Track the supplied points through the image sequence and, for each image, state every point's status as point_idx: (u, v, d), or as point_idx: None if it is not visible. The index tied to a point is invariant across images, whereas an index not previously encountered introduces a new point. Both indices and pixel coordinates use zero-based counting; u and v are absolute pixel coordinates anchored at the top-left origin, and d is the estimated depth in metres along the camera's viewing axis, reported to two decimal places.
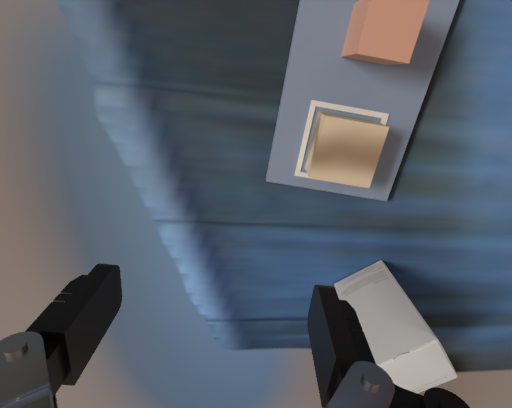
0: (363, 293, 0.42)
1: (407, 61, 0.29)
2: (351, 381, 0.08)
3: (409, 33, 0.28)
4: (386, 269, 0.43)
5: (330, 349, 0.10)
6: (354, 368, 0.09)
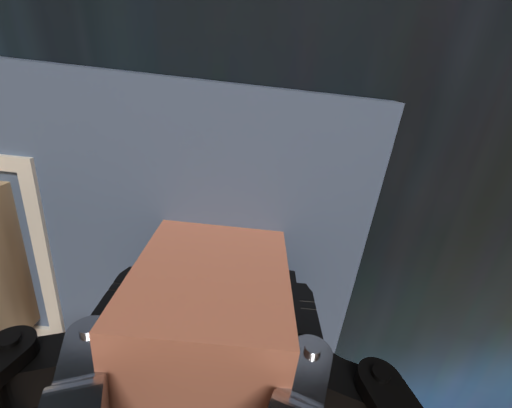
0: None
1: None
2: None
3: None
4: None
5: None
6: None
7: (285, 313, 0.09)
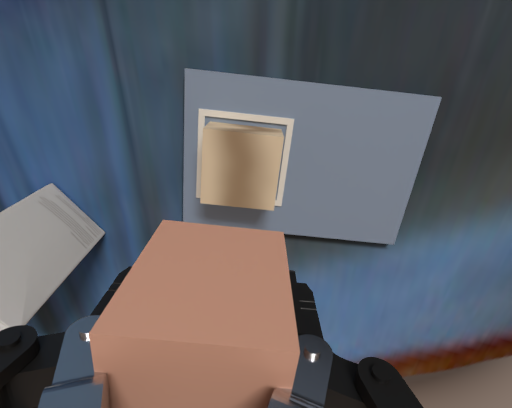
0: (50, 223, 0.31)
1: None
2: None
3: None
4: (95, 241, 0.34)
5: None
6: None
7: (285, 313, 0.09)
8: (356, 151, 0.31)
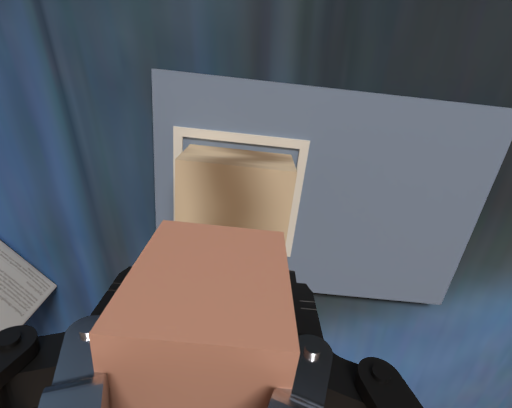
0: None
1: None
2: None
3: None
4: (38, 302, 0.26)
5: None
6: None
7: (285, 314, 0.09)
8: (396, 184, 0.22)
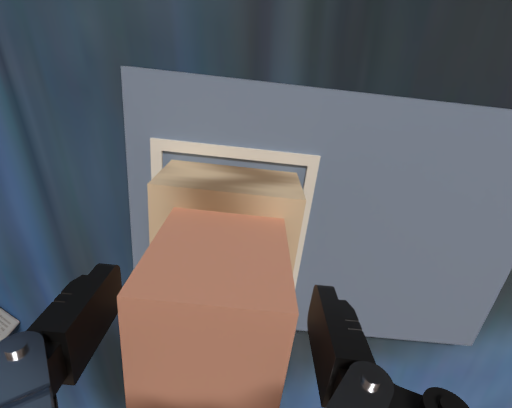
0: None
1: None
2: (350, 381, 0.08)
3: (197, 404, 0.10)
4: None
5: (329, 349, 0.10)
6: (353, 368, 0.09)
7: (286, 284, 0.10)
8: (425, 209, 0.18)
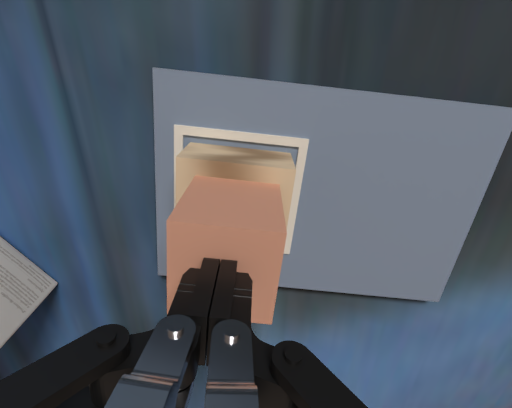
0: None
1: None
2: (212, 334, 0.09)
3: None
4: (40, 299, 0.26)
5: None
6: (214, 333, 0.09)
7: (279, 219, 0.14)
8: (394, 182, 0.22)
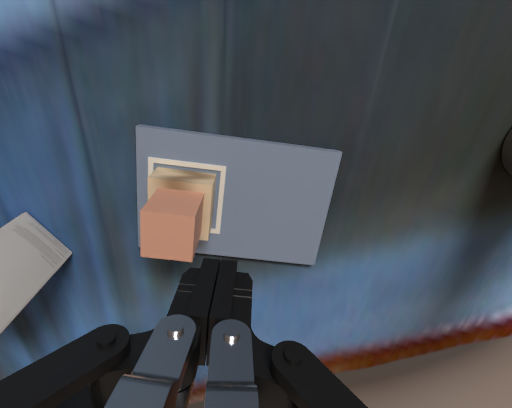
0: (23, 248, 0.37)
1: (142, 255, 0.30)
2: (212, 334, 0.09)
3: (165, 252, 0.30)
4: (62, 261, 0.41)
5: None
6: (215, 332, 0.09)
7: (194, 211, 0.30)
8: (278, 192, 0.39)
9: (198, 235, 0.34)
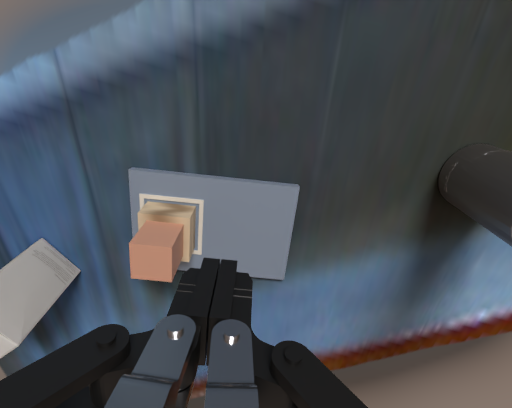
0: (40, 269, 0.45)
1: (132, 277, 0.38)
2: (212, 334, 0.09)
3: (150, 274, 0.38)
4: (72, 278, 0.49)
5: None
6: (214, 332, 0.09)
7: (172, 241, 0.37)
8: (248, 220, 0.46)
9: (179, 259, 0.41)
